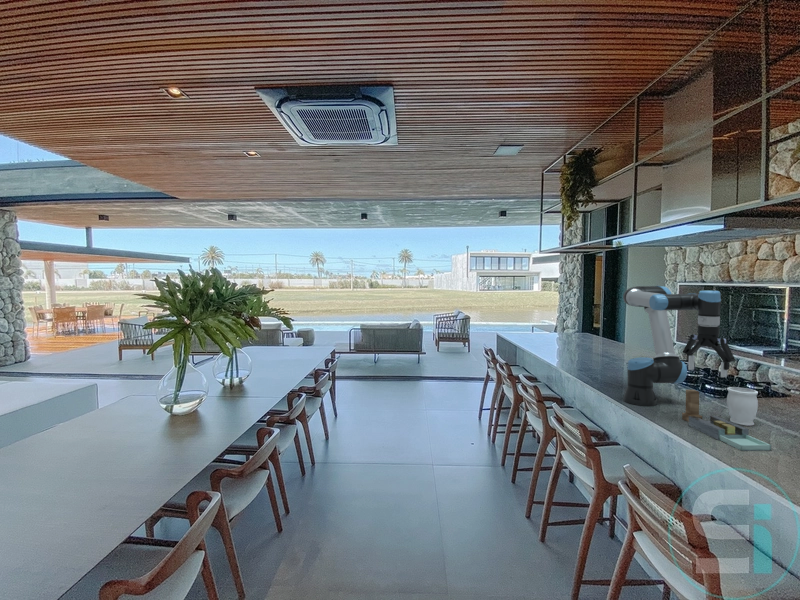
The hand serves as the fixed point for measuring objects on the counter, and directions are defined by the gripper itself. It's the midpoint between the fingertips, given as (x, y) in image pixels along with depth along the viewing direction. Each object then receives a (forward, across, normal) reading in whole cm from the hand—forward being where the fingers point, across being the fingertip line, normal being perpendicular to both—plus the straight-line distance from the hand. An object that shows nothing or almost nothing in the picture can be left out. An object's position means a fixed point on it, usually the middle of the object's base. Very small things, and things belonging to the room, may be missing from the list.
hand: (706, 373), depth 170 cm
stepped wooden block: (+23, -5, -1) cm, 24 cm away
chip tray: (+22, +21, -9) cm, 32 cm away
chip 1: (+21, +10, -6) cm, 24 cm away
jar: (+24, +4, +17) cm, 29 cm away
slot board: (+23, +8, -5) cm, 25 cm away
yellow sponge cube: (+21, +14, -7) cm, 26 cm away
